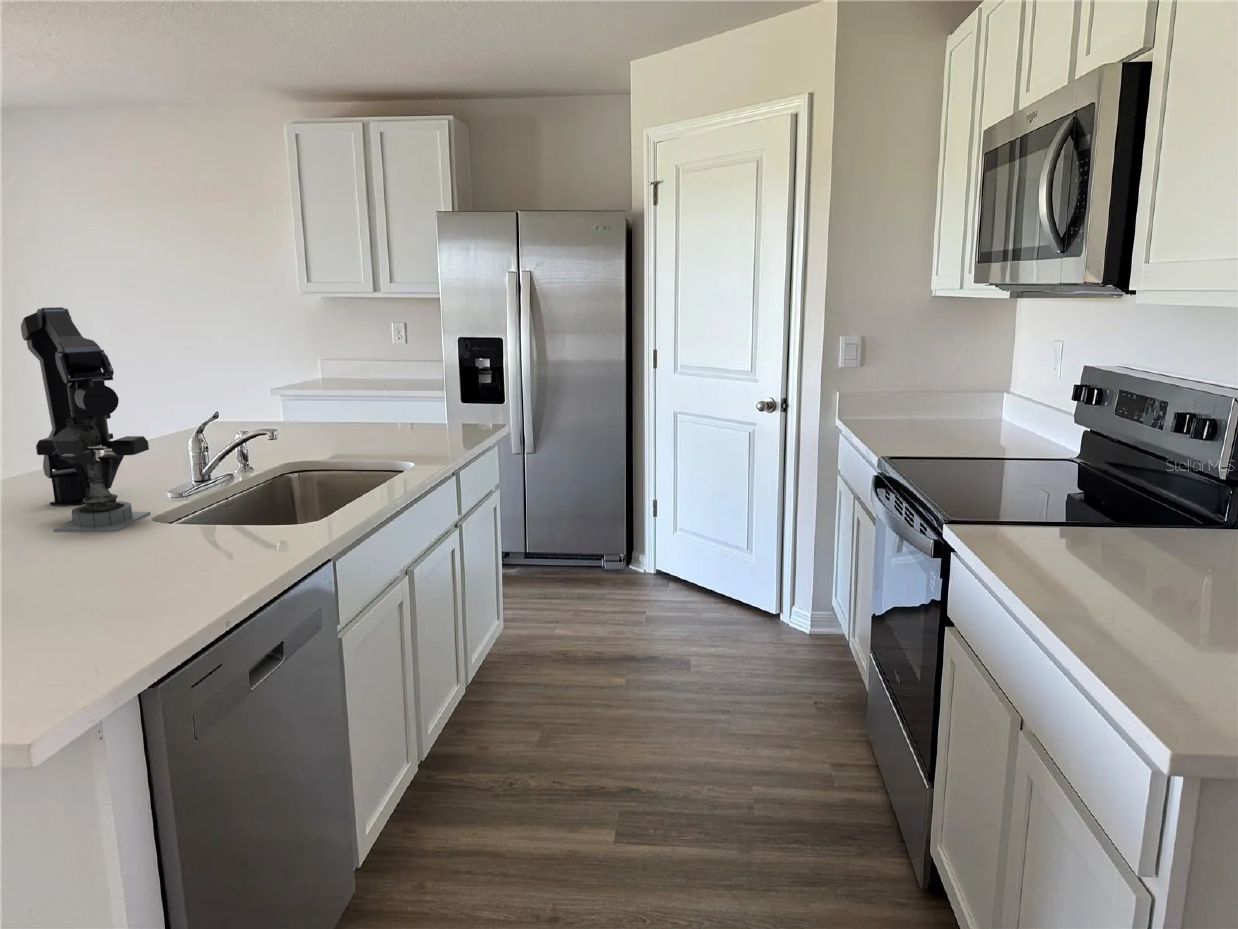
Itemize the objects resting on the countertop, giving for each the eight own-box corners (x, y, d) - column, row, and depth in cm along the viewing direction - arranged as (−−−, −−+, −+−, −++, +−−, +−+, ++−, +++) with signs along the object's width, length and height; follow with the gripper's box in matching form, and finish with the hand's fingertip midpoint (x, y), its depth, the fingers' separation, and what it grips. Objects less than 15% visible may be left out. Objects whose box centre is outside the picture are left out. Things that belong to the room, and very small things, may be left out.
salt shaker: (126, 511, 167) (118, 453, 164) (106, 519, 161) (97, 459, 158) (99, 510, 167) (91, 452, 165) (78, 519, 162) (69, 459, 159)
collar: (53, 531, 158) (51, 516, 158) (92, 514, 170) (90, 500, 169) (116, 531, 158) (114, 516, 158) (150, 514, 170) (148, 500, 170)
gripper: (9, 416, 152) (22, 498, 155) (112, 416, 152) (122, 499, 155) (50, 407, 162) (61, 484, 166) (145, 407, 163) (154, 484, 166)
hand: (98, 488), depth 163 cm, fingers closed on salt shaker, 3 cm apart
